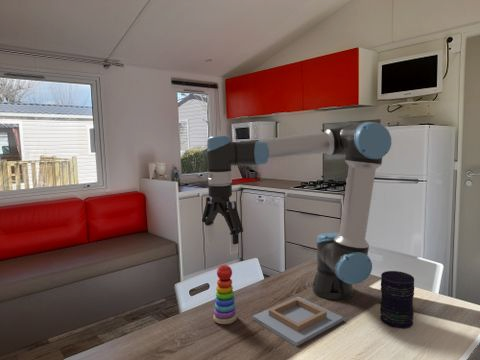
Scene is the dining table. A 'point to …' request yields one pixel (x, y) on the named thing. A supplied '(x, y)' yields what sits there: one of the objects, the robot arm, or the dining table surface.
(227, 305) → the stacking toy
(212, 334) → the dining table surface
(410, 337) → the dining table surface
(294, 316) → the baseplate
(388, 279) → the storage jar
